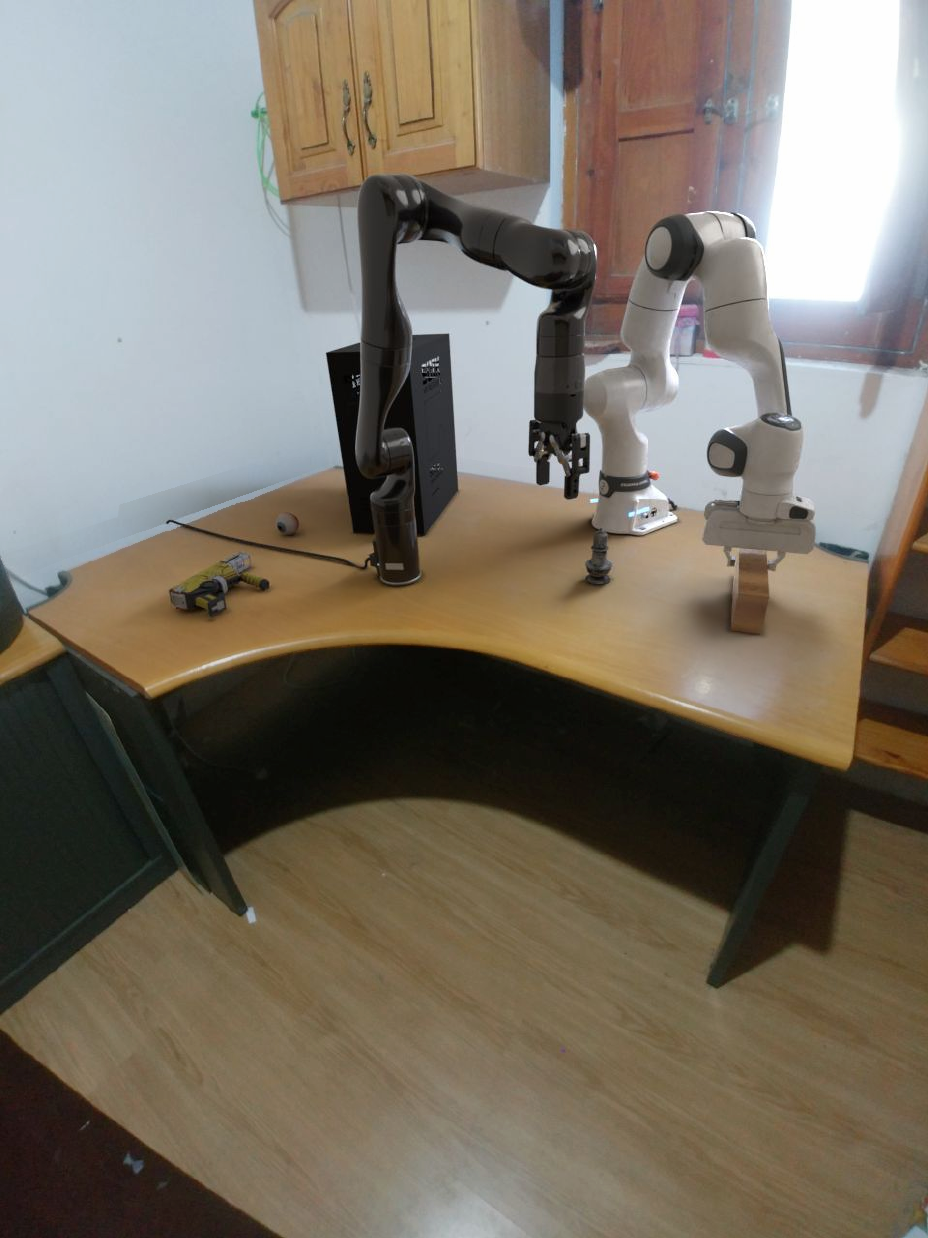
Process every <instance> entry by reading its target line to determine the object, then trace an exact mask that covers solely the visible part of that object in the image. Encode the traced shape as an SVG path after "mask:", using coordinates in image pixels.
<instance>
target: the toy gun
mask: <svg viewBox="0 0 928 1238" xmlns="http://www.w3.org/2000/svg"><path fill="white" fill-rule="evenodd" d="M248 559H249V563H248V564H247V563H245V561H247V560H248ZM251 562H252V561H251V555H250V554H249V553H248V552H246V551H245V552H244V553H243V551H238V552H237V553H234V554H232V555H231V556H229V557H227V558H225V559H224V560H220V561H218V562H216V563H215V564H213V565H211V566H209V567H207V568H206V569H204V570H202V571H200V572H198V573H196V574H195V575H192V576H191V577H189V578H187V579H186V580H183V581H181V582H180V583H178V584H176V585H174V586H173V587H170V588H169V589H168V594H169V599H170V603H171V605H172V606H173V607H174V608H175V610H179V611H184V610H187V611H189V610H195V609H199V608H202V609H205V610H206V611H208V616H209V617H214V616H216V615H218V614H220V613H223V611H225V610H227V603H226V597H225V595H226V594H227V593H228V591H229V588H231V587H233V586H236V585H238V584H239V583H241V582H242V583H245V584H247V585H250V586H252V587H255V588H258V589H260V590H261V591H266V590H268V589H269V588H270V581H269V579H267V578H262V577H260V576H257V575H254V574H251V573H249V572H247V571H246V572H244V571H245V570H246V569H248V568H251V567H252V563H251ZM242 572H243V573H242ZM240 573H242V574H241V575H240Z"/></svg>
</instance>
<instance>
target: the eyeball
mask: <svg viewBox="0 0 928 1238" xmlns="http://www.w3.org/2000/svg"><path fill="white" fill-rule="evenodd" d="M299 525H300V522H299V519H298V517H297V516H296V515H295V514H294V513H292V512H287V511H286V512H282V513H280V514H279V515H278V516H277V517H276V520H275V527H276V529H277V530H278V531H279V532H280V533H281V534H282V535H285V536H286V535H287V536H289V535H293V534H295V533H296V532H297V531H298V529H299Z"/></svg>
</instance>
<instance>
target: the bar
mask: <svg viewBox="0 0 928 1238" xmlns="http://www.w3.org/2000/svg"><path fill="white" fill-rule="evenodd" d="M737 549H738V550H737V555H736V561H735V566H734V571H733V576H732V594H731V598H732V599H731V615H730V631H732V632H733V631H734V632H738V633H739V632H740V633H747V634H754V635H762V631H763V627H764V622H765V618H766V614H767V609H768V605H769V601H770V584H769V571H768V566H767V565H768V551H766V550H755V549H745V548H737Z"/></svg>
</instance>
